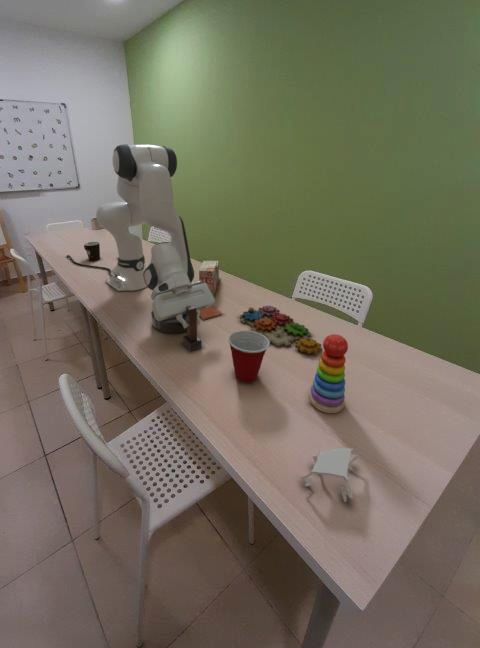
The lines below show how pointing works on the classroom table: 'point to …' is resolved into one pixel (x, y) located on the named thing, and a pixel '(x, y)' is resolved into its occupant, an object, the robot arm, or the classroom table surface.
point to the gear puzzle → (280, 328)
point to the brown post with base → (191, 330)
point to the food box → (210, 274)
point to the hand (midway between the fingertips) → (192, 325)
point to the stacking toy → (330, 376)
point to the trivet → (209, 313)
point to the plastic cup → (247, 353)
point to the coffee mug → (93, 250)
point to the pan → (168, 324)
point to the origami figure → (334, 466)
